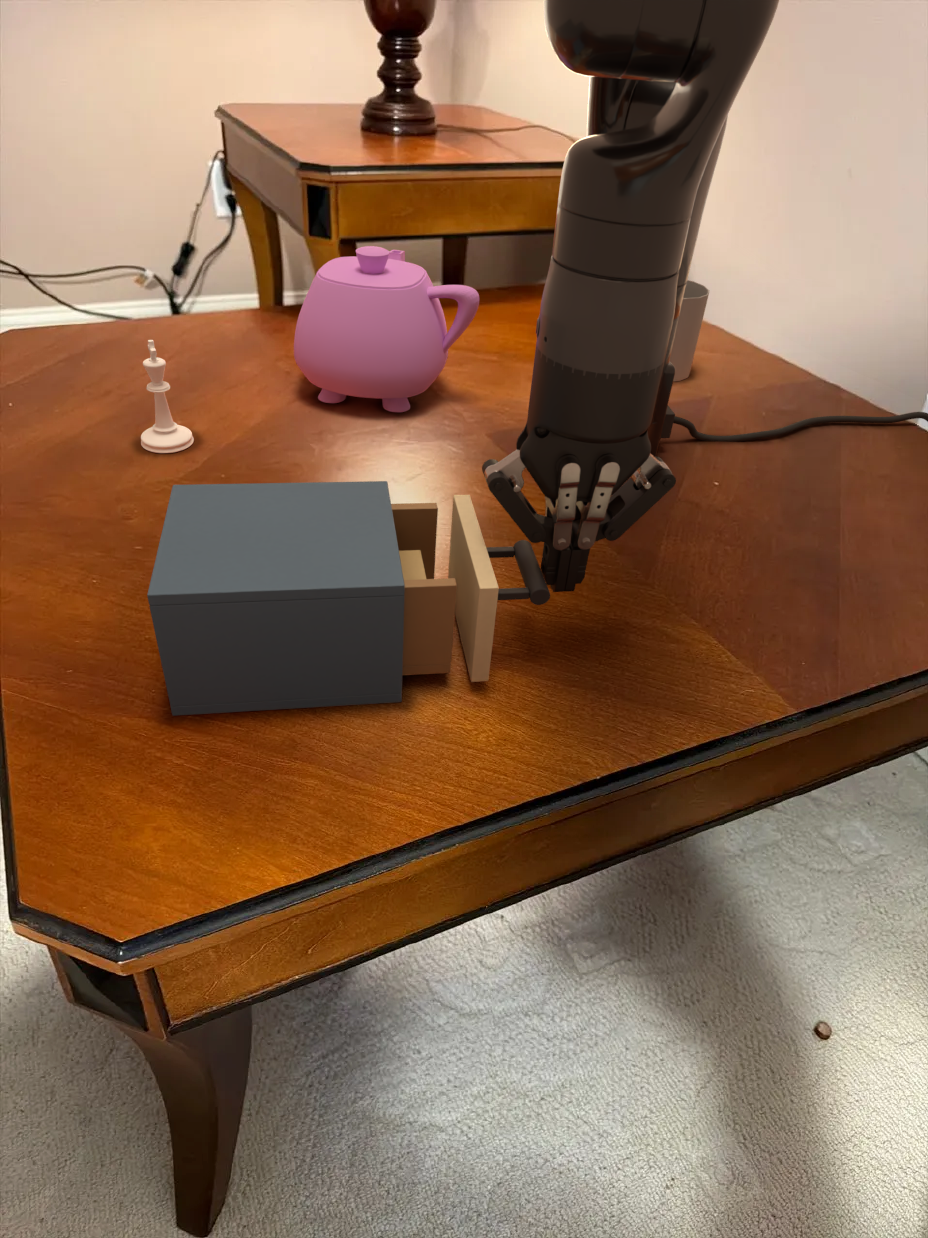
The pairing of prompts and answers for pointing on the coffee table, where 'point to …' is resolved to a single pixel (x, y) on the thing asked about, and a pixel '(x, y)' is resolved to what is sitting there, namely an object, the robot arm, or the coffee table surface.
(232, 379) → the coffee table surface
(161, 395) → the chess piece
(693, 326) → the cup
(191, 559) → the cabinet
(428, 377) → the teapot
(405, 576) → the block
